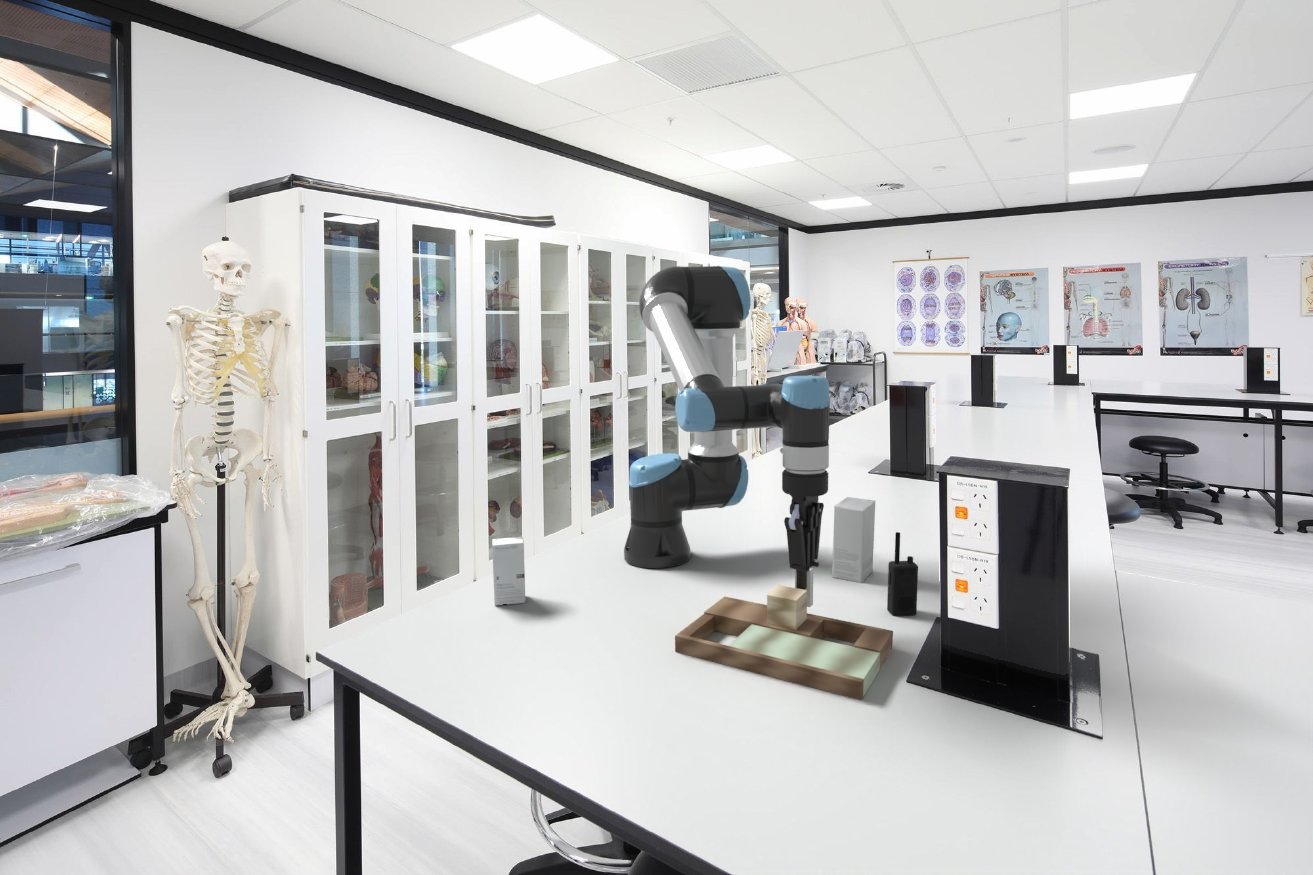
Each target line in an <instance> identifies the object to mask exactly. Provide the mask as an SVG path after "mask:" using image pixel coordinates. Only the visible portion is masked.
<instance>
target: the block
mask: <svg viewBox="0 0 1313 875" xmlns="http://www.w3.org/2000/svg"><path fill="white" fill-rule="evenodd" d="M766 605H767V624H772V625H776V626H781V627H785V628H790V629H794V630H796V629H797V628H798V627H799V626H800V625H801V624H802V623H803V622H804V621H805V620H806V619H807V613H808V607H807V590H803V589H797V588H795V587H791V586H787V585H781V584H779V585H777V586H776V587H774V588H773V589H772V590H771V591H770V592H769V593H768V594H767V595H766Z"/></svg>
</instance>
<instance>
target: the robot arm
mask: <svg viewBox="0 0 1313 875" xmlns="http://www.w3.org/2000/svg"><path fill="white" fill-rule="evenodd" d="M749 286H750V285H749V283H748V280H747V278H746V277H745V275H744V273H743V272H742V271H741V270H740V269H739V268H736V267H733V266H722V265H717V266H713V265H712V266H709V265H708V266H706V265H705V266H702V265H701V266H681V265H680V266H679V265H678V266H677V265H676V266H670V267H665V268H663V269H661V270H659V271H658V272H656V273H655V274H653V275H652V276H651V278H649V280H648V281H647V282H646V283H645V285H644V287H643V288H642V290H641V293H640V296H639V297H640V298H639V302H638V303H639V305H638V306H639V308H638V309H639V315H640V317H641V320H642V321H643V324H644V325H645V327H646V328H647V330H649V331H650V332H652V333H653V334H654V336H655V339H656V341H657V344H658V346H659V347H660V350H661V352H662V354H663V357H664V358H665V362H666V363H667V365H668V368H669V369H670V372H671V374H672V376H673V378H674V381H675V383H676V385H677V388H678V390H679V392H678V393H677V396H676V398H675V404H674V405H675V410H674V411H675V415H676V422H677V424H678V426H679V428H680V429H681V430H682V431H684V432H687V433H693V434H694V442H693V444H691V446H690V447H689V448H688V449H687V458H685V459H682V456H680V455H679V454H678V453H673V452H668V453H657V454H652V455H651V454H650V455H647V456H644V457H641V458H640V457H639V459H637V460H635V461H633V462H632V463H631V464H630V467H629V479H628V480H629V481H628V486H629V504H630V505H629V508H630V526H629V528H630V529H629V530H628V534H627V537H626V538H627V539H626V542H625V545H624V547H623V555H624V556H623V557H624V561H625V562H626V563H628V564H629V565H632V566H634V567H638V568H644V569H665V568H672V567H673V568H674V567H677V566H681V565H683V564H685V563H687V562H689V560H691V546H690V543H689V540H688V537H687V534H686V531H685V528H684V525H683V512H685V511H697V510H708V509H717V508H718V509H723V508H725V507H732V506H736V505H738V504H739V503H741V502H742V500H743V499H744V497H745V495H746V493H747V490H748V484H749V470H748V464H747V461H746V459H745V457H743V456H742V455H740V454H739V453H740V450H739V448H738V447H737V446H735V444H734V442H733V430H749V429H763V428H779V429H782V430H781V431H782V439H781V440H782V447H780V450H779V452H780V454H782V467H783V468H784V470H783V471H781V472H782V473H781V478H782V479H781V489H782V492H784V493H785V494H786V495H790V497H791V503H790V506H789V514H790V517H788V516H786V517H784V520H783V522H784V526H785V530H786V540H787V551H788V559H789V569H790V570H791V569H792V570H794V588H797V589H803V590H807V608H811V607H812V606H813V605H814V567H815V568H818V567H819V566H820V562H818V561H816V560H818V559H819V552H820V550H819V549H820V540H821V539H820V538H821V526H822V518H823V516H822V515H823V513H824V507H825V505H824V502H820V501H819V497H820V496H825V494H827V493H828V492H829V472H828V470H827V469H828V468H829V466H830V462H829V461H830V444H829V442H830V441H829V439H830V411H831V408H830V405H831V397H830V384H829V379H827V377H824V376H821V375H790V376H786V377H785V378H784V379H783V381H782V383H779V382H767V383H766V382H765V383H761V384H759V385H740V386H739V385H737V386H733V384H734V383H733V380H734V377H733V376H734V372H733V371H734V370H733V369H734V367H733V366H734V365H733V364H734V357H733V356H734V337H735V335H736V334H737V333H738V332H739V331H740V329H741V322H743V321H744V320H746V319H747V318H748V316H749V315H750V310H751V305H752V304H751V292H750V287H749Z"/></svg>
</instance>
